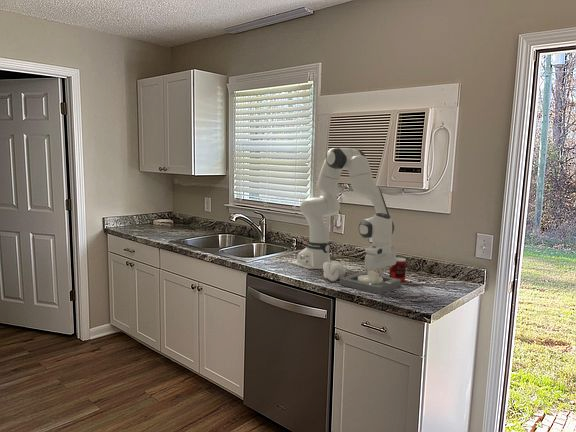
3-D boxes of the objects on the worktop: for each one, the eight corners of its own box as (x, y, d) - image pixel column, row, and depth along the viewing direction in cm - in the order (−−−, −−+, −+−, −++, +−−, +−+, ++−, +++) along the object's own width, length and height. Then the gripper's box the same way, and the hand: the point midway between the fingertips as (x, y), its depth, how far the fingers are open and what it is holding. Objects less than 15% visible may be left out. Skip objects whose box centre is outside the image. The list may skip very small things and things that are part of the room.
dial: (353, 279, 220) (353, 267, 219) (374, 278, 223) (375, 266, 223) (365, 286, 208) (366, 273, 207) (388, 284, 212) (388, 272, 211)
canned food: (393, 277, 232) (394, 256, 231) (407, 280, 227) (408, 259, 226) (386, 280, 226) (387, 258, 225) (401, 283, 221) (402, 261, 220)
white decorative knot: (335, 284, 217) (335, 266, 215) (315, 279, 224) (316, 262, 223) (348, 279, 225) (348, 262, 224) (328, 275, 233) (329, 258, 232)
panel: (339, 284, 216) (339, 278, 215) (361, 277, 231) (361, 271, 230) (379, 294, 201) (380, 287, 201) (400, 285, 217) (400, 279, 216)
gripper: (389, 244, 219) (387, 272, 221) (362, 249, 206) (361, 278, 207) (400, 246, 215) (398, 274, 216) (373, 251, 201) (372, 281, 203)
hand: (380, 276), depth 212 cm, fingers closed
